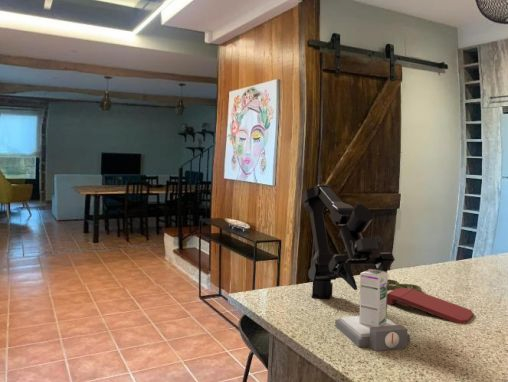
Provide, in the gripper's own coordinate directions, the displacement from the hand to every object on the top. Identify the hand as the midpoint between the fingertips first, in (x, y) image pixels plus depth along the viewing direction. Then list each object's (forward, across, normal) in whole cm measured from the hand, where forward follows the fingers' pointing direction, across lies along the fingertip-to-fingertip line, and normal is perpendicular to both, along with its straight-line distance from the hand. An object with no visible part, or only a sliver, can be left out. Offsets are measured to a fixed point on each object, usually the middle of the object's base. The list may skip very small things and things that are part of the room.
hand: (371, 288), depth 118 cm
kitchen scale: (+11, 0, +7) cm, 13 cm away
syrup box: (+7, 0, +6) cm, 10 cm away
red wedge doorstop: (0, +29, +19) cm, 34 cm away
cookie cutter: (-15, +32, +34) cm, 49 cm away
